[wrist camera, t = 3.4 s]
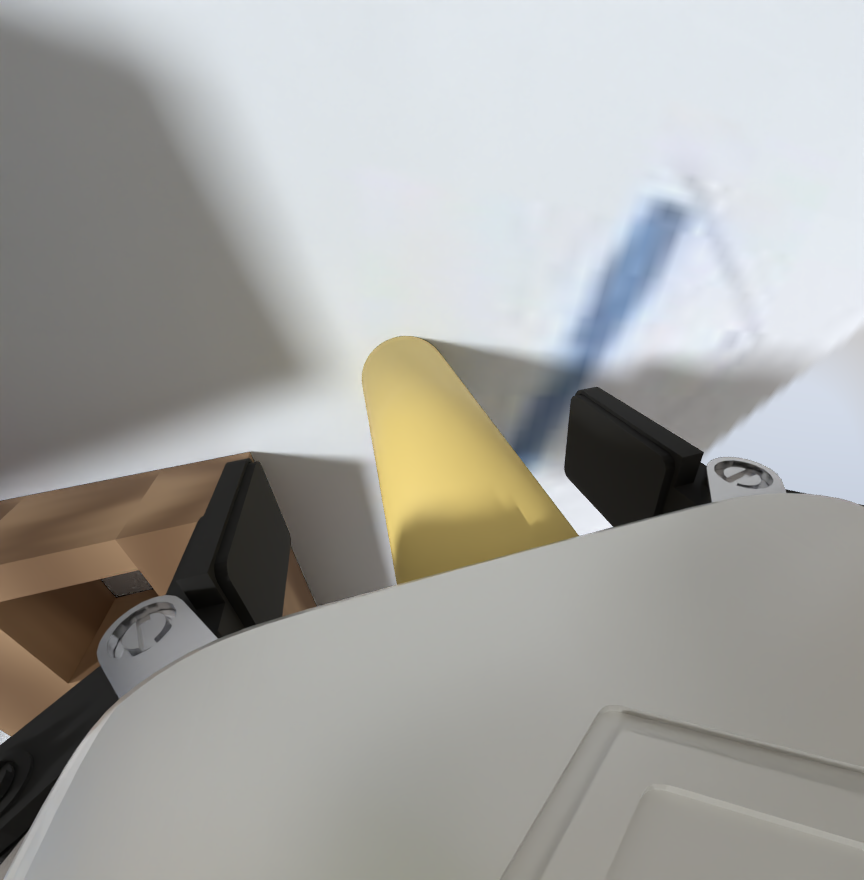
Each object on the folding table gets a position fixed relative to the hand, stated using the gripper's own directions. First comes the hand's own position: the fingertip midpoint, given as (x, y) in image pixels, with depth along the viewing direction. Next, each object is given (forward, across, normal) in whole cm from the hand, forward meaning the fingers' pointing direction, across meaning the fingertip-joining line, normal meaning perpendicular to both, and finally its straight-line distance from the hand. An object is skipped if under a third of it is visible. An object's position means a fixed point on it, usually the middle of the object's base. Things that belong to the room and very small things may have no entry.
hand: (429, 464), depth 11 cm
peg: (+6, 0, 0) cm, 6 cm away
